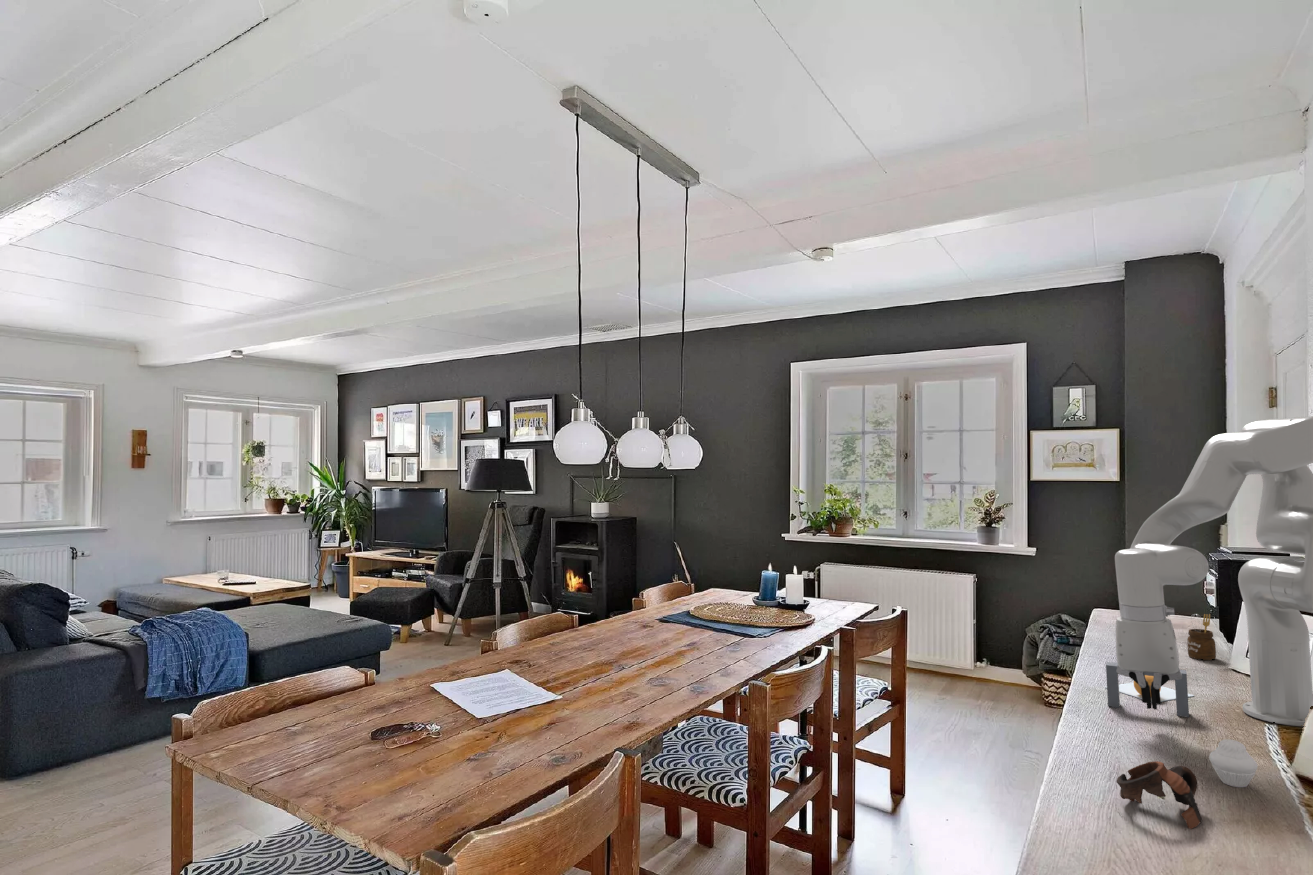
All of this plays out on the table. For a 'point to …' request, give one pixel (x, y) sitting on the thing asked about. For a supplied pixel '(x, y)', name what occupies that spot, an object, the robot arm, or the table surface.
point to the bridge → (1179, 684)
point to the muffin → (1233, 763)
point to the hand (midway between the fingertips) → (1152, 706)
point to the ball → (1148, 679)
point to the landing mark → (1165, 695)
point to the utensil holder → (1201, 641)
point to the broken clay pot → (1151, 782)
